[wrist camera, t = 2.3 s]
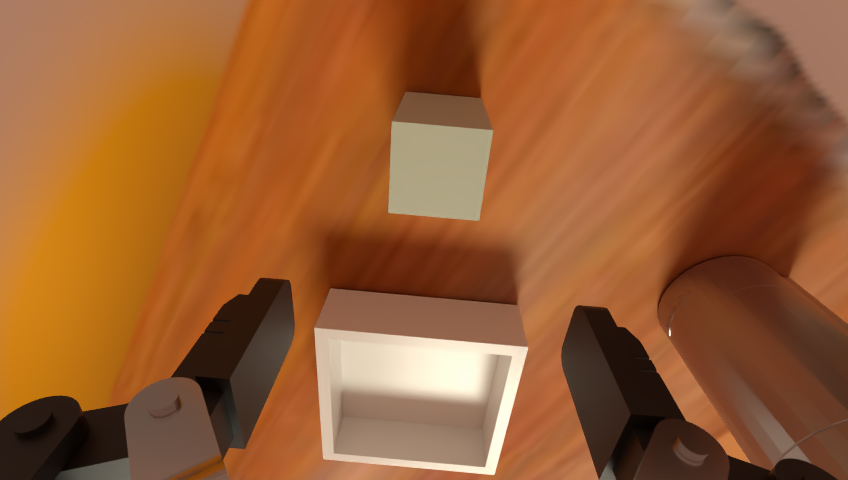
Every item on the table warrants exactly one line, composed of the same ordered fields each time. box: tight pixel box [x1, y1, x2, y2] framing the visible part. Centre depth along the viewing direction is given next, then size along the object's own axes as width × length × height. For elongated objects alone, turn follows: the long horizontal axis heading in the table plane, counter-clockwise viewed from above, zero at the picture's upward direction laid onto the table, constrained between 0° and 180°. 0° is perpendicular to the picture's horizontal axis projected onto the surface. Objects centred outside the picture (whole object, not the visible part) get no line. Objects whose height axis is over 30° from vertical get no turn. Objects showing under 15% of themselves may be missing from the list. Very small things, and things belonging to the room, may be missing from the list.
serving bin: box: [314, 288, 528, 475], centre depth 37 cm, size 16×16×5 cm
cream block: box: [388, 92, 493, 221], centre depth 25 cm, size 5×5×8 cm
